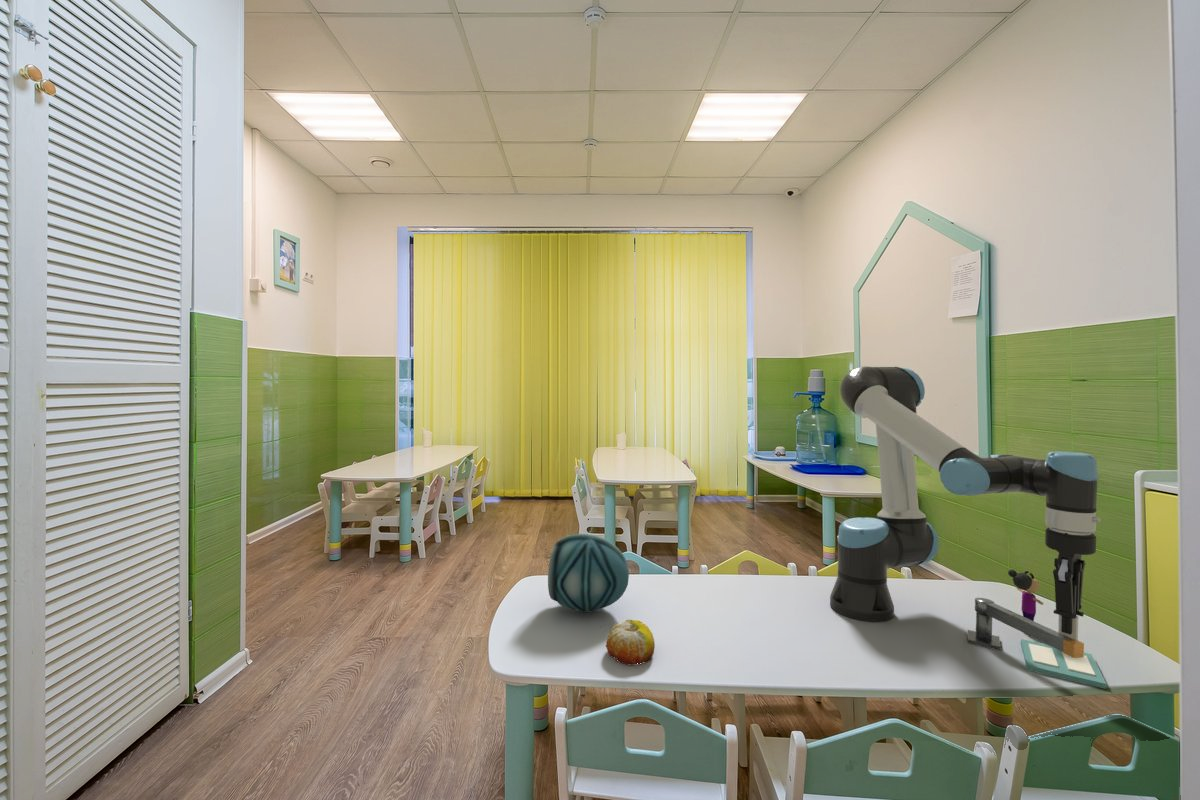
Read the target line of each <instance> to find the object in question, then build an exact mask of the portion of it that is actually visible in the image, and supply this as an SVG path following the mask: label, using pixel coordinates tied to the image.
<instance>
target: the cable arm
mask: <svg viewBox="0 0 1200 800" xmlns="http://www.w3.org/2000/svg"><path fill="white" fill-rule="evenodd" d="M974 611H975V612H976V611H977V612H979V613H981V614H986V615H988V616H990V617H992V619H994V620H997V621H999V622H1001V623H1003V624H1005V625H1006V626H1009V627H1011V628H1013V629H1015V630H1017V631H1020V632H1021V633H1023V634H1026V635H1027V636H1028V635H1029V636H1028V637H1030V636H1031V637H1032V638H1033V639H1036V640H1037V641H1038V642H1039V641H1040V643H1042V644H1047V645H1050V646H1052V647H1054V648H1056V649H1058V650H1060V651H1062V652H1063V653H1064V654H1066V655H1069V656H1071V657H1073V658H1081V657H1084V653H1085V643H1084V642H1082V641H1080V640H1079V639H1078V640H1075V639H1072V638H1069V637H1067V636H1065V635H1063V634H1061V633H1058V631H1056V630H1054V629H1052V628H1049V627H1047V626H1045V625H1043V624H1041V623H1039V622H1036V621H1035V620H1034V621H1032V620H1030V619H1028V618H1025V617H1023V615H1021V614H1019V613H1016V612H1014V611H1012V610H1010V609H1008V608H1006V607H1003V606H1002V605H999V604H997V603H995V602H994V601H993V600H992V599H988V598H985V597H975V598H974Z"/></svg>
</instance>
